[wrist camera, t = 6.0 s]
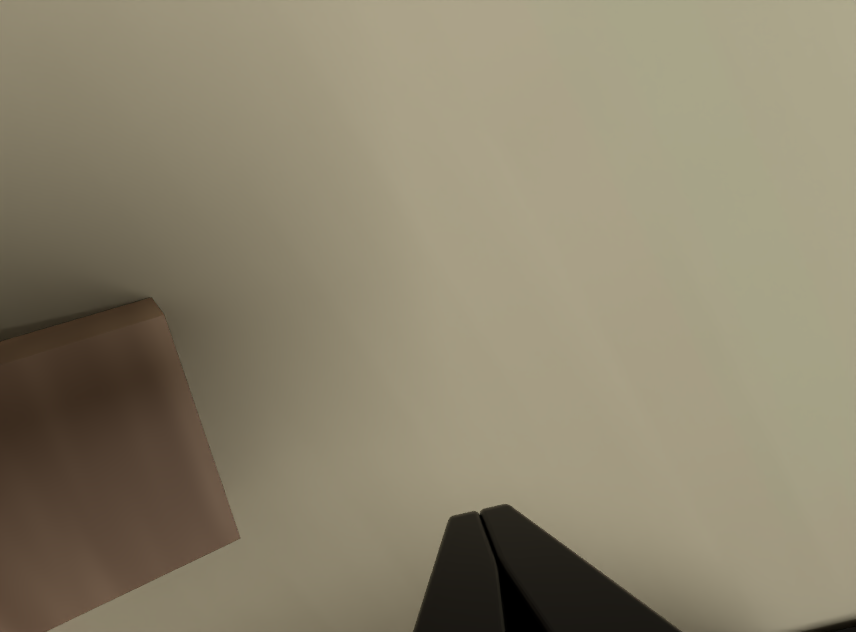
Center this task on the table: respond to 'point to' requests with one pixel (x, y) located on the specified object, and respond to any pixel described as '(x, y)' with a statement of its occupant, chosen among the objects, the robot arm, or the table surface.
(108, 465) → the domino
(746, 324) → the table surface
